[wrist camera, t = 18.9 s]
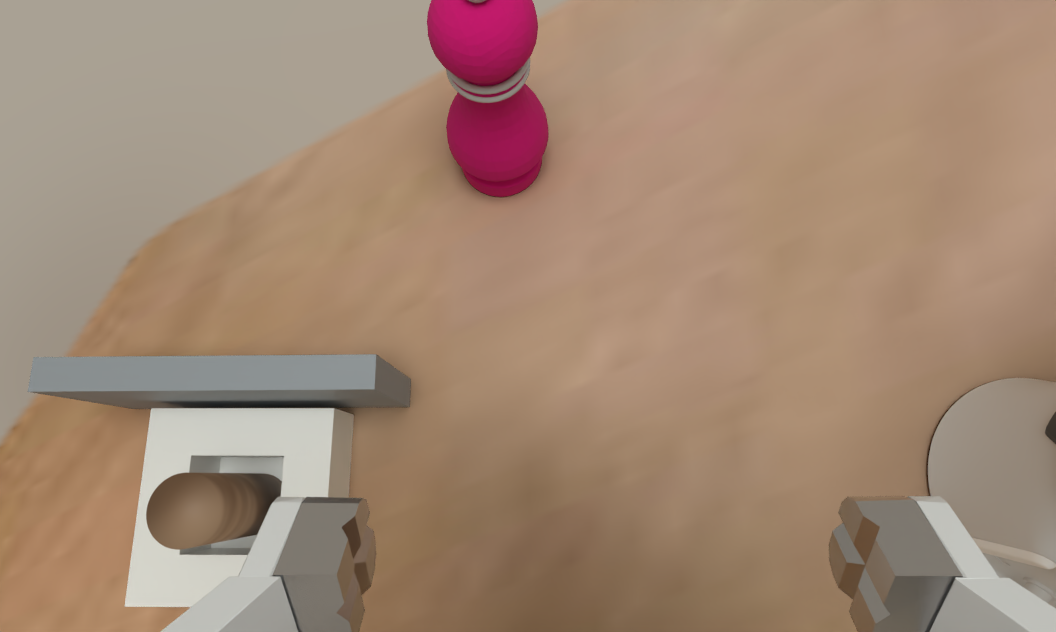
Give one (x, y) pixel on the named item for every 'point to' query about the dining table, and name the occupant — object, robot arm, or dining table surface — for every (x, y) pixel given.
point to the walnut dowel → (209, 507)
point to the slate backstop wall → (224, 381)
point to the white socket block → (230, 447)
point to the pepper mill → (491, 90)
